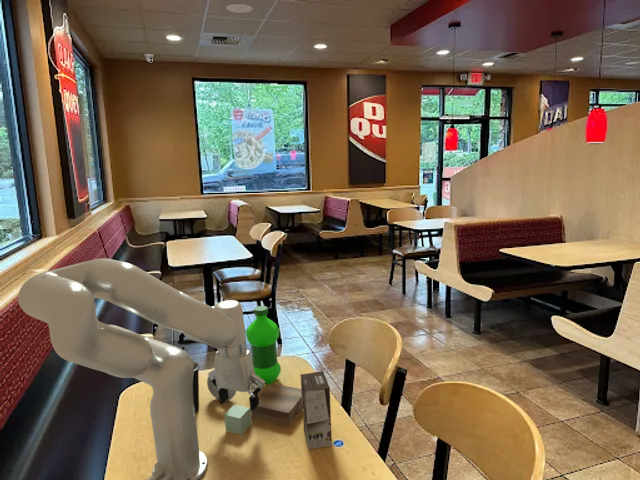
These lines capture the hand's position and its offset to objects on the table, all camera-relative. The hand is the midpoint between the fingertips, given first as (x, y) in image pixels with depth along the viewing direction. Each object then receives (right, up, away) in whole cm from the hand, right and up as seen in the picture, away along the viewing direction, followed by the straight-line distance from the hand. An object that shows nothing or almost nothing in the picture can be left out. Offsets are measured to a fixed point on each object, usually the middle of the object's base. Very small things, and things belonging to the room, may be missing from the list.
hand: (239, 404), depth 121 cm
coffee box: (+21, -7, -5) cm, 23 cm away
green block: (0, -7, +1) cm, 7 cm away
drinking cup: (-16, -5, +9) cm, 19 cm away
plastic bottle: (+4, -1, +24) cm, 25 cm away
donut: (-7, -4, +14) cm, 17 cm away
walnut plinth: (+10, -4, +8) cm, 14 cm away
